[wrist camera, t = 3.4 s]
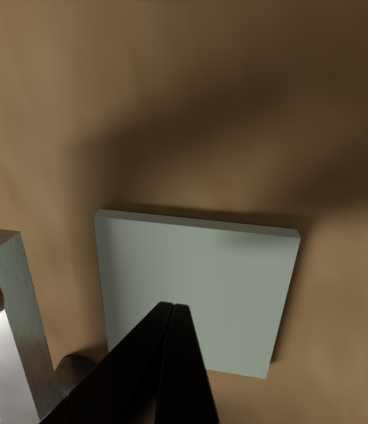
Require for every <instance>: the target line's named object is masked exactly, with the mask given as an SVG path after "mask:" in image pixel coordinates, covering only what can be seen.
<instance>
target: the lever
mask: <svg viewBox="0 0 368 424" xmlns="http://www.w3.org/2000/svg"><path fill="white" fill-rule="evenodd" d="M95 366H96V365H95V364H94V363H93V362H92V361H90V360H89V359H87V358H85V357H82V356H78V355H68V356H65V357H64V358H62V359H61V361H60V363H59V364H58V366H57V368H56V369H55V371H54V368H53V364H52V360H51V356H50V352H49V348H48V344H47V340H46V336H45V331H44V327H43V323H42V319H41V315H40V311H39V307H38V303H37V299H36V295H35V291H34V287H33V283H32V279H31V274H30V270H29V266H28V262H27V258H26V254H25V250H24V246H23V242H22V238H21V234H20V231H12V230H3V229H0V424H38V423H39V422H40V421H41V420H42V419H43V418H44V417H45V416H46V415H47V414H48V413H49V412H50V411H51V410H52V409H53V408H54V407H55V406H56V405H57V404H58V403H59V402H60V401H61V400H62V399H63V398H64V397H65V396H68V394H69V392H70V391H71V390H72V389H73V388H74V387H75V386H76V385H77V384H78V383H79V382H80V381H81V380H82V379H83V378H84V377H85V376H86V375H87V374H88V373H89V372H90V371H91V370H92V369H93V368H94V367H95Z"/></svg>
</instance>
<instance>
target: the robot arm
mask: <svg viewBox="0 0 368 424" xmlns="http://www.w3.org/2000/svg"><path fill="white" fill-rule="evenodd" d="M154 415H155V417H154ZM153 419H154V424H219V423H220V421H219V417H218V413H217V410H216V406H215V402H214V398H213V394H212V391H211V387H210V383H209V379H208V375H207V372H206V368H205V364H204V360H203V356H202V353H201V349H200V345H199V341H198V337H197V333H196V330H195V326H194V322H193V318H192V314H191V311H190V307H189V305H186V304H179V303H176V304H175V305H174V304H173V303H172V302H165V301H160V302H159V303H157V305H156V306H155V307H154V308H153V309H152V310H151V311H150V312H149V313H148V314H147V315H146V316H145V317H144V318H143V319H142V320H141V321H140V322H139V323H138V324H137V325H136V326H135V327H134V328H133V329H132V330H131V331H130V332H129V333H128V334H127V335H126V336H125V337H124V338H123V339H122V340H121V341H120V342H119V343H118V344H117V345H116V346H115V347H114V348H113V349H112V350H111V351H110V352H109V353H108V354H107V355H106V356H105V357H104V358H103V359H102V360H101V361H100V362H99V363H98V364H97V365H96V366H95V367H94V368H93V369H92V370H91V371H90V372H89V373H88V374H87V375H86V376H85V377H84V378H83V379H82V380H81V381H80V382H79V383H78V384H77V385H76V386H75V387H74V388H73V389H72V390H71V391H70V392H69V394H68V396H65V397H64V398H63V399H62V400H61V401H60V402H59V403H58V404H57V405H56V406H55V407H54V408H53V409H52V410H51V411H50V412H49V413H48V414H47V415H46V416H45V417H44V418H43V419H42V420H41V421H40V422H39V423H38V424H152V422H153Z"/></svg>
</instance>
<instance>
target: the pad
mask: <svg viewBox="0 0 368 424" xmlns="http://www.w3.org/2000/svg"><path fill="white" fill-rule="evenodd" d="M93 221H94V229H95V238H96V247H97V256H98V264H99V273H100V282H101V290H102V299H103V308H104V316H105V325H106V334H107V343H108V351H109V352H110V351H111V350H112V349H113V348H114V347H115V346H116V345H117V344H118V343H119V342H120V341H121V340H122V339H123V338H124V337H125V336H126V335H127V334H128V333H129V332H130V331H131V330H132V329H133V328H134V327H135V326H136V325H137V324H138V323H139V322H140V321H141V320H142V319H143V318H144V317H145V316H146V315H147V314H148V313H149V312H150V311H151V310H152V309H153V308H154V307H155V306H156V305H157V303H159V302H160V301H165V302H172V303H173V304H174V305H175V304H176V303H179V304H186V305H189V307H190V311H191V314H192V318H193V322H194V326H195V330H196V333H197V337H198V341H199V345H200V349H201V353H202V356H203V360H204V364H205V368H206V369H208V370H214V371H220V372H226V373H232V374H238V375H244V376H250V377H256V378H262V379H266V376H267V372H268V368H269V364H270V360H271V356H272V352H273V348H274V344H275V340H276V336H277V332H278V328H279V324H280V320H281V316H282V312H283V308H284V304H285V300H286V296H287V292H288V288H289V284H290V280H291V276H292V272H293V268H294V264H295V260H296V256H297V252H298V247H299V243H300V239H301V238H300V235H299V233H298V230H297V229H289V228H279V227H270V226H260V225H250V224H241V223H231V222H221V221H212V220H202V219H192V218H183V217H173V216H163V215H154V214H144V213H134V212H125V211H115V210H105V209H99V210H98V212H97V213H96V214H95V215H94V216H93Z"/></svg>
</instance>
